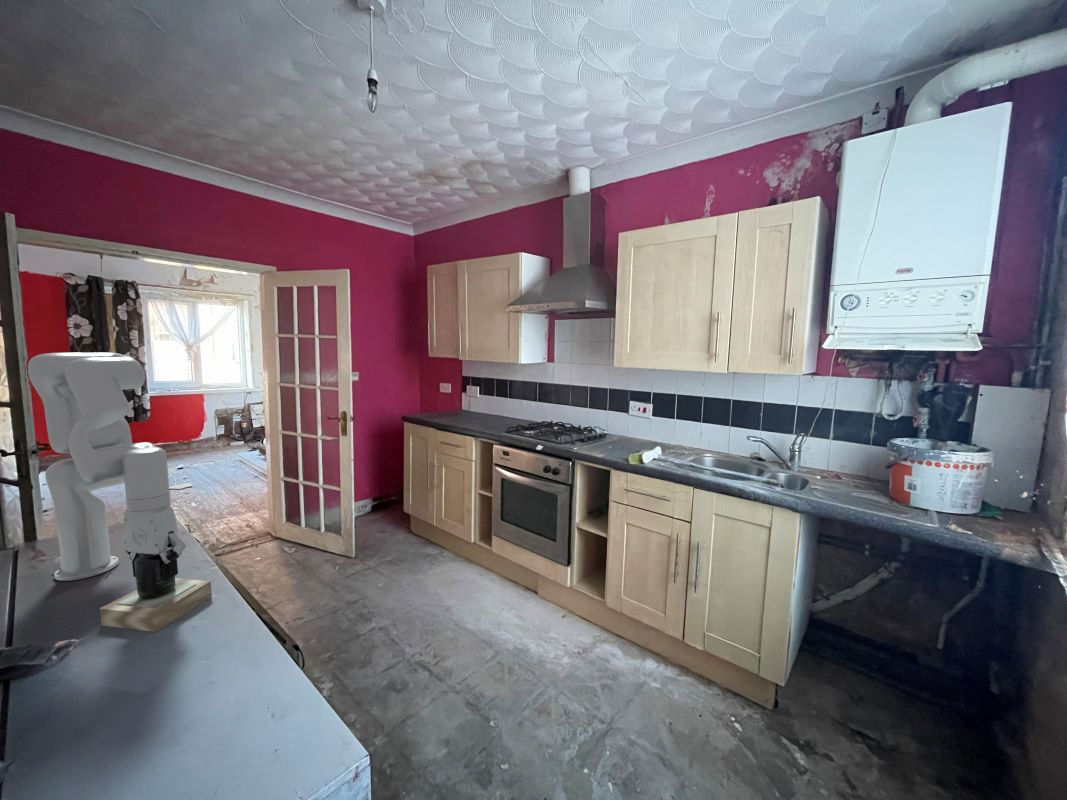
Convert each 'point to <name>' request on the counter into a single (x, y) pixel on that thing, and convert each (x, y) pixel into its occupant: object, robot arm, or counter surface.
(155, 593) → the supplement bottle
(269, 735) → the counter surface
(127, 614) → the birch stand
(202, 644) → the counter surface
